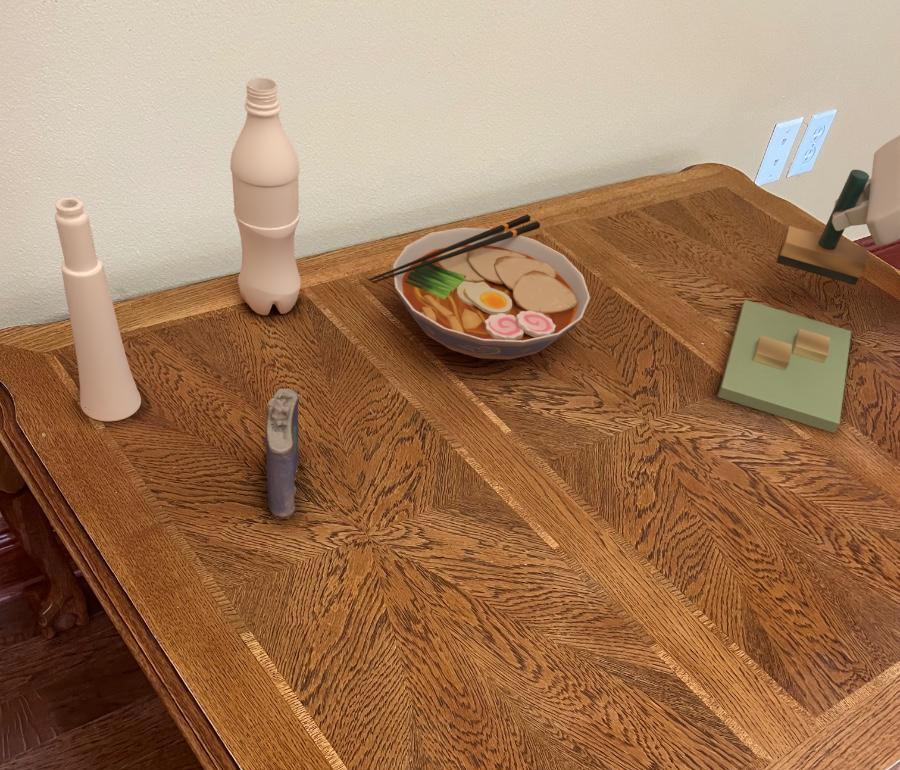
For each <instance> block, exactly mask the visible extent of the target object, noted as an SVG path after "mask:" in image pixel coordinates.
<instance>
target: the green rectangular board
mask: <svg viewBox="0 0 900 770" xmlns="http://www.w3.org/2000/svg"><path fill="white" fill-rule="evenodd" d="M799 329H803V330H806V331H809V332H813V333H816V334H819V335H823V336H826V337H830V345H829V352H828V356H827V358H826V360H825V362H824V363H822V362H819V361H816V360H812V359H809V358H806V357H802V356H799V355H796V354H793V353H792V352H793V346H794V341H795V336H796V334H797V332H798V330H799ZM760 336H765V337H768V338H771V339H775V340H778V341H781V342H785V343H788V344H791V345H792V350H791V355H790V360H789V364H788V366H787V368H786V370H781V369H778V368H775V367H771V366H768V365H765V364H762V363H758V362H755V361H753V358H754V354H755V350H756V346H757V342H758V340H759V338H760ZM851 337H852V331H851V330H849V329H846V328H843V327H839V326H836V325H832V324H829V323H825V322H823V321H818V320H815V319H812V318H808V317H806V316H803V315H799V314H795V313H792V312H789V311H784V310H782V309H779V308H775V307H772V306H768V305H764V304H761V303H758V302H754V301H751V300H748V299H744V300H743V303H742V305H741V307H740V312H739V314H738V319H737V322H736V325H735V330H734V333H733V336H732V341H731V344H730V349H729V352H728V356H727V358H726V359H727V360H726V363H725V367H724V371H723V374H722V377H721V382H720V385H719V388H718V393H717V398H720V399H722V400H726V401H729V402H731V403H736V404H739V405H741V406H745V407H748V408H752V409H754V410H758V411H761V412H763V413H767V414H771V415H774V416H777V417H781V418H784V419H785V420H786V419H787V420H791V421H793V422H795V423H800V424H803V425H806V426H809V427H813V428H816V429H819V430H822V431H825V432H828V433H831V434H835V433H836V431H837V430H838V427H839V425H841V418H842V417H841V415H842V407H843V399H844V392H845V384H846V376H847V368H848V360H849V353H850V345H851Z"/></svg>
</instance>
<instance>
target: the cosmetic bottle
mask: <svg viewBox="0 0 900 770" xmlns="http://www.w3.org/2000/svg"><path fill="white" fill-rule="evenodd" d="M55 209H56V213H55V215H54V219H55V224H56V225H55V226H56V229H57V232H58V233H57V234H58V237H59V242H60V247H61V251H62V255H63V261H62V263H61V265H60V266H61V273H62V274H61V275H62V280H63V287H64V292H65V298H66V305H67V309H68V310H67V311H68V315H69V316H68V317H69V321H70V327H71V331H72V338H73V342H74V343H73V344H74V349H75V355H76V362H77V363H76V364H77V370H78V381H79V405H80V409H81V410H82V412H83V413H84V414H85V415H86V416H87V417H89V418H91V419H93V420H96V421H100V422H117V421H118V422H119V421H123V420H125V419H128V418H130V417H132V416H133V415H134V414H135V413H136V412H138V410H139V409H140V407H141V404H142V397H141V395H140V392H139V390H138V387H137V385H136V381H135V379H134V376H133V374H132V371H131V368H130V365H129V362H128V358H127V354H126V351H125V347H124V343H123V340H122V335H121V331H120V327H119V323H118V320H117V316H116V311H115V307H114V302H113V299H112V294H111V290H110V286H109V282H108V278H107V275H106V271H105V267H104V264H103V261H102V260H101V259H100V258H98V257H97V252H96V247H95V243H94V237H93V232H92V227H91V221H90V217H89V214H88V212H87V211H86V210H85V209H84V204H83V201H82V200H81V199H79V198H77V197H73V196H72V197H71V196H68V197H63V198H60V199H58V200H57V201H55ZM85 407H86V408H85ZM88 409H89V410H88Z"/></svg>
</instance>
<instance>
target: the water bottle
mask: <svg viewBox="0 0 900 770" xmlns="http://www.w3.org/2000/svg"><path fill="white" fill-rule="evenodd" d="M245 88H246V98H245V103H244V109H245V111H246V119H245V123H244V125H243V127H242V129H241V131H240V132H239V135H238V137H237V139H236V141H235V144H234V146H233V149H232V151H231V156H230V165H229V166H230V172H231V178H232V193H233V194H232V195H233V214H234V216H235V219H236V223H237V227H238V230H239V237H240V242H241V266H240V271H239V274H238V277H237V283H238V290H239V292H240V296H241V297H242V299H243V301H244V302H245V303H246V304H247V305H248V306H249V307H250V309H251V310H252V311H254V312H255V313H256V314H258V315H261V316H268V315H269V314H270V312H271V309H272V307H273V305H274V306H275V307H276V309H277V311H278V312H279V313H280V315H284V314H288V313H289V312H290V311H292V309H293V308H294V306H295V305H296V303H297V300H298V297H299V294H300V290H301V284H302V281H301V280H302V279H301V275H300V272H299V268H298V265H297V260H296V255H295V254H296V253H295V252H296V251H295V235H296V234H295V233H296V229H297V226H298V224H299V222H300V217H301V213H300V208H299V206H300V204H299V199H300V198H299V175H300V164H299V159H298V155H297V152H296V151H295V148H294V146H293V144H292V142H291V140H290V138H289V137H288V135H287V133H286V131H285V129H284V127H283V125H282V122H281V119H280V112H281V104H280V100H279V98H278V97H279V95H278V93H279V92H278V83H277V82H276V81H275V80H274V79H271V78H268V77H264V76H263V77H262V76H261V77H260V76H256V77H252V78H249V79H248V80H247V81H246V87H245Z"/></svg>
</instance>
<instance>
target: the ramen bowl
mask: <svg viewBox="0 0 900 770" xmlns="http://www.w3.org/2000/svg"><path fill="white" fill-rule="evenodd" d="M531 218H532V216H531V215H529V214H525V215H522V216H520V217H517V218H515V219H512V220H510V221H507V222H505V223H504V224H500V225H498V226H495V227H492V228H482V227H457V228H451V229H445V230H438V231H433V232H429V233H428V234H425V235H424V236H422V237H420V238H417V239H416V240H414V241H413V242H411V243H408V244H407V245H405V247H404V248H403V250H402V251H401V253H400V254H399V255H398V257H397V258H396V259H395V261H394V263H393V264H392V268H393V269H390V270H388V271H386V272H383V273H381V274H378V275H376V276H373V277H371V278H369V281H371V283H372V284H374V283H377V282H381V281H384V280H387V279H390V278H394V289H395V290H396V293H397V295H398V298H399V300H400V301H401V302H402V304H403V306H404V307H405V309H406V310H407V311H408V312H409V315H411V317H412V318H413V319H414V321H415V322H416V324H417V325H418V326H419V327H420V329H421V330H422V331H423V332H424V333H425V334H426V335H427V336H428V337H429V338H431V339H432V340H434V341H436V342H438V343H439V344H441V345H442V346H444V347H446V348H447V349H449V350H451V351H454V352H457V353H461V354H463V355H467V356H470V357H474V358H477V359H488V360H490V359H491V360H513V359H517V358H522V357H526V356H531V355H535V354H537V353H539V352H541V351H543V350H545V349H546V348H547V347H549V346H551V345H552V344H553V343H554V342H556V341H557V340H559V339H561V337H563V336H564V335H566V334H567V333H568V332H569V331H572V330H573V329H574V327H575V326H576V325H577V324H579V322H580V321H581V320H582V319H583V316H584V314H585V312H586V309H587V306H588V304H589V302H590V300H591V295H590V292H589V290H588V289H589V288H588V287H587V286H588V285H587V283H586V280H585V277H584V275H583V273H581V271H580V270H579V269H577V267H576V266H575V265H574V264H573V263H572V262H571V261H570V260H569V259H568V258H567V256H565V254H562V253H561V252H559V251H557V250H555V249H553V248H551V247H549V246H548V245H546V244H544V243H542V242H541V241H539V240H537V239H535V238H531V237H527V236H524V235H523V234H526V233H529V232H532V231H535V230H539V229H540V227H541V222H539V221H537V220H536V221H533V222H531ZM529 222H531V223H529ZM526 223H528V224H526ZM523 224H525V225H523ZM520 225H523V226H520ZM519 226H520V227H519ZM515 227H517V228H515ZM513 228H515V229H513ZM510 229H513V230H510ZM506 230H509V231H506ZM389 274H390V275H389Z"/></svg>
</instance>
